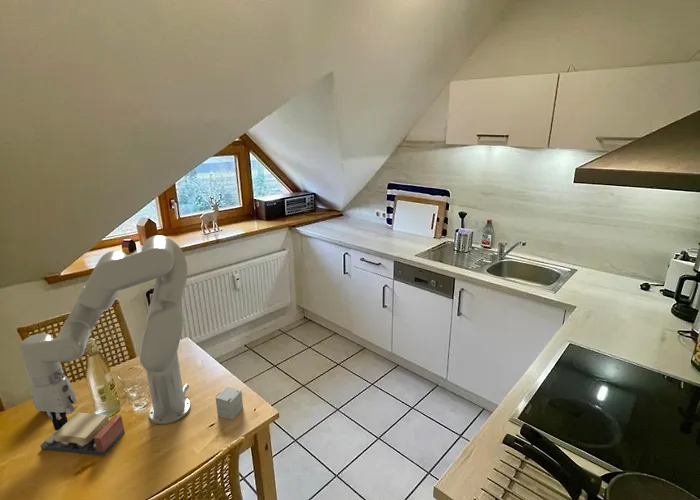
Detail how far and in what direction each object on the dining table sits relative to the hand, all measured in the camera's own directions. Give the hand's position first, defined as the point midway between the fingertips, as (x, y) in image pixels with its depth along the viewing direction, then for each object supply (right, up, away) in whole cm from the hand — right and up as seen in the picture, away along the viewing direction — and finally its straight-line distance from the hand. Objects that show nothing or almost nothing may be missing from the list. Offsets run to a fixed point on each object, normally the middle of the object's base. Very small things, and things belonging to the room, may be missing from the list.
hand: (61, 426), depth 119 cm
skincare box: (+47, -1, +13) cm, 49 cm away
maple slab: (+7, -1, -1) cm, 7 cm away
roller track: (+6, -5, +1) cm, 8 cm away
